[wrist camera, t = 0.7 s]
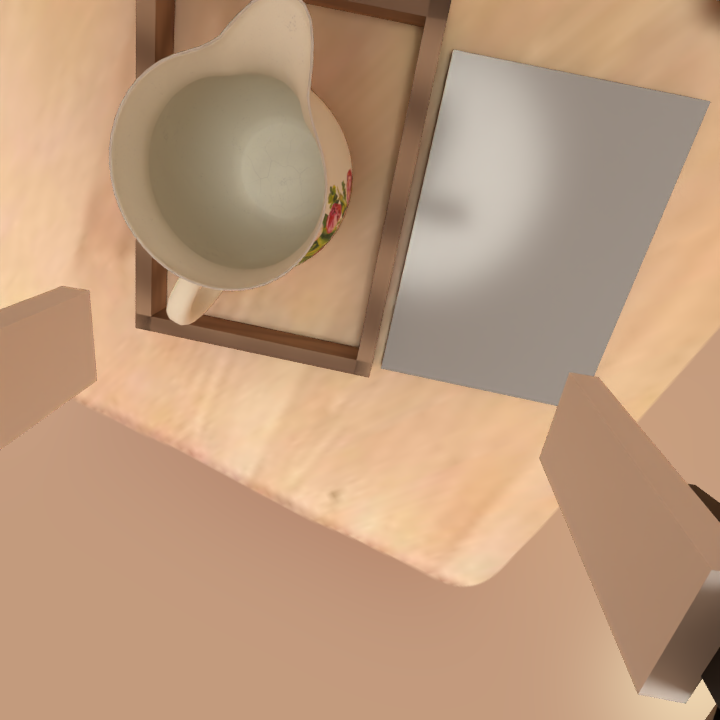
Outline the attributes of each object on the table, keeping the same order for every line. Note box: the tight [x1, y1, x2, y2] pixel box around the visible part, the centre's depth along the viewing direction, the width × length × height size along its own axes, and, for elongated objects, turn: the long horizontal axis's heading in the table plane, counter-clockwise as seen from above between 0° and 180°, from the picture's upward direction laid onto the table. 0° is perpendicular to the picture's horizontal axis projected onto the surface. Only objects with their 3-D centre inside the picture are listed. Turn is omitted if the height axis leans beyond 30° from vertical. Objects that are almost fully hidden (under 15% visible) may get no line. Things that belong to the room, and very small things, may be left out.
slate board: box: [381, 50, 710, 406], centre depth 34 cm, size 22×16×1 cm
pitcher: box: [109, 0, 353, 325], centre depth 28 cm, size 11×18×14 cm, turn 149°
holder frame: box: [136, 0, 451, 377], centre depth 34 cm, size 24×18×2 cm
